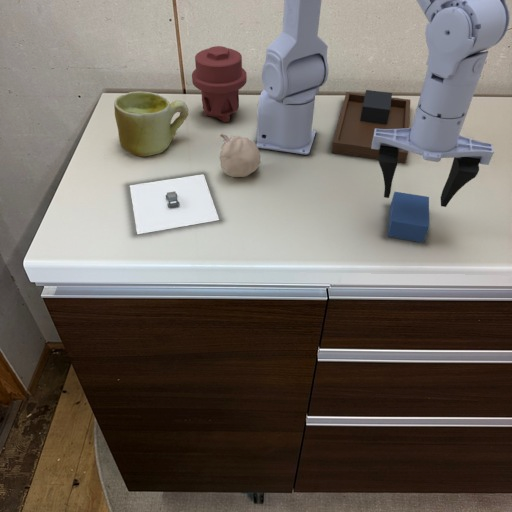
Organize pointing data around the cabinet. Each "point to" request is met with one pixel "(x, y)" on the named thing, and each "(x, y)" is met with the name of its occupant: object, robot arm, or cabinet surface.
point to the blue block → (409, 217)
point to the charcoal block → (376, 107)
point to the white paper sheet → (172, 203)
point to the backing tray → (366, 127)
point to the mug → (147, 122)
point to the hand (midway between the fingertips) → (414, 197)
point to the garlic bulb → (239, 156)
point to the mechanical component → (219, 80)
